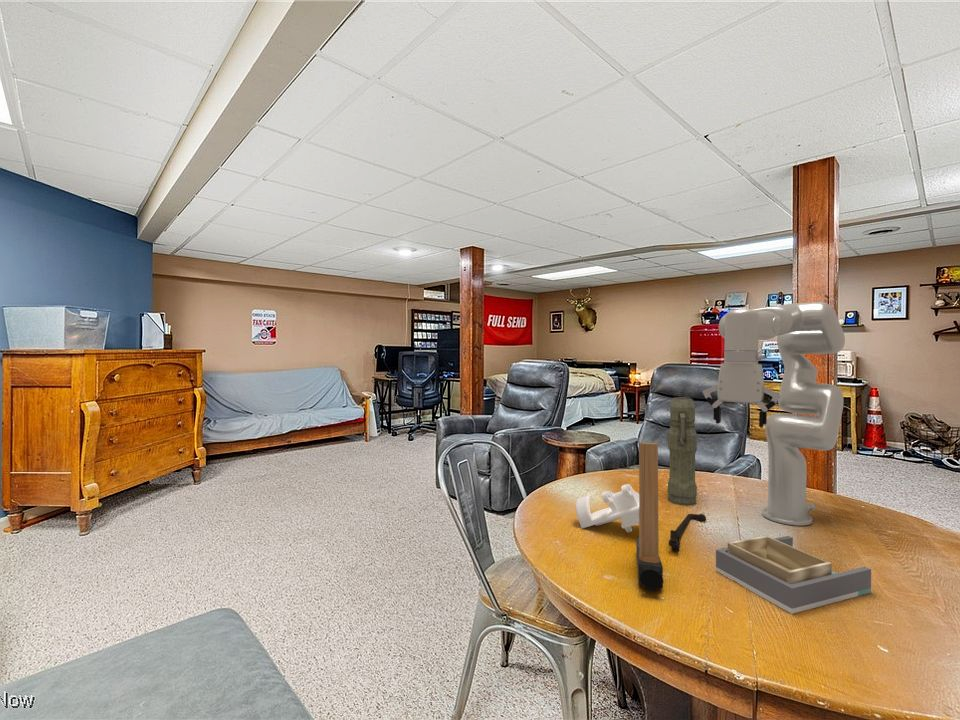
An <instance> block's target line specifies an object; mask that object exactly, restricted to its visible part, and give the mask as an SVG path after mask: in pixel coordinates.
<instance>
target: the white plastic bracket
mask: <svg viewBox="0 0 960 720" xmlns="http://www.w3.org/2000/svg"><path fill="white" fill-rule="evenodd" d="M620 489H621V490H620V491H618V492H615V493H614V492H612V490H606V491H603V492H602V493H601V497H602V500H603V502H604V503H605V504H608V505H609V507H606V508H603V509H600V510H597V511H594V512H592V510H591V507H590V503H591V502H590V500H591V498H592V496H591V494H589V493H588V494H585V495H582V496H579V497H577V499H576V502H575V513H576V517H577V520H578V522H579V525H580V527H581V529H585V528H588V527H591V526H594V525H595V527H598V526H600V525H604V524H608V523H612V522H615V521H619V520H620V522H621V524H620V526H621V528H622V529H625V532H627V533H628V532H629V533H631V532H632V531H633V528H632V526H636V525H639V492H637V491H636V490H634V488H633V487H632V485H631V484H630V483H625V484H623V485H621V488H620ZM591 512H592V513H591Z"/></svg>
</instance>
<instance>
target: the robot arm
mask: <svg viewBox="0 0 960 720" xmlns="http://www.w3.org/2000/svg"><path fill="white" fill-rule="evenodd" d="M718 332H719V334H720V336H721V337H722V338H723V339H724V349H723V350H724V353H723V354H724V356H723V360H724V361H723V363H722V362H721V363H720V368H719V371H718V373H719V374H718V382H717V384H715V385H713V386H711V387H708V388H706V389H704V390H702V395H703V396H704V398H705V399H706V402H708V404H709V405H710V406H712V408H713V420H714V421H715V424H716V425H717V424H721V422H722V408H721V404H723V403H724V402H727V403H728V402H730V403H740V404H741V403H742V404H756V405H757V406H758V408H759V409H760V411H759V414H758V421H759V422H758V424H759V425H758V428H761V429H762V428H764V430H765V437H766V441H767V442H766V443H767V448H768V449H767V451H768V463H767V464H768V465H767V466H768V467H767V470H768V471H767V472H768V473H767V474H768V476H767V478H768V479H767V484H768V485H767V488H768V489H767V507H765V508H763V509H761V515H762V516H763V517H764V518H766V519H767V520H769V521H772V522H775V523H779V524H783V525H790V526H798V527H799V526H809V525H811V524H813V517H812V516H810V515H809V514H808V512H809V511H814V510H816V507H817V506H816V505H815V504H814V503H807V474H808V473H807V472H808V471H807V470H808V469H807V467H808V466H807V460H806V458H805V456H804V454H803V453H802V452H801V450H800V449H801V448H802V449H809V450H816V451H824V452H825V451H831V450H833V448H835V446H836V444H837V442H838V437H839V431H840V425H841V420H842V415H843V409H844V395H843V392H842V390H841V388H840V387H838V385H834V384H830V383H818V382H817V378H818V375H819V374H818V369H817V368H816V366H815V365H814V364H813V363H812V361H810V360H809V359H808V358H807V357H806V356H805V355H832V354H837V353H840V352H841V351H842V350H843V348H844V347H845V344H846V337H845V333H844V330H843V327H842V325H841V323H840V321H839V318H838V316H837V313H836V312H835V311H834V308H833V307H831V305H829V304H828V302H824V301H812V302H811V301H810V302H799V303H798V302H796V303H787V304H786V303H785V304H782V305H781V304H779V305H773V306H767V307H760V308H755V309H734V310H729V311H728V312H727V313H725V314H724V315H723V316H722V317H721V318H720V320H719V323H718ZM775 337H776V343H777V348H778V352H779V354H780V358H781V360H782V364H783V368H784V369H783V370H784V371H783V376H782V380H781V381H782V382H781V386H780V388H779V392H778V393H777V392H776V391H774V390H772V389H770V388H768V387H766V386H765V385H764V384H765V381H764V371H763V369H764V368H763V365H762V364H761V363H759V361H761V360H765V359H766V354H764V353H760V352H759V341H765V340H767V341H768V340H771V339H774V338H775ZM804 354H805V355H804ZM715 391H717V392H716V396H717V400H715V399H714V398H713V397H712V395H711V393H713V392H715ZM765 394H766V395H769V396H771V397H772V398H771V400H770V401H769V402H768V403H767V404H766V403H765V402H764V401H763V400H764V398H765ZM777 403H778V407H779V408H780V409H781V410H782V411H784V412H787V413H784V412H783V413H781V412H780V413H773V414H772V415H769V416H768V417H767V415H768V411H769V410H770V409H772V408H773V407H774V406H775V405H776V404H777ZM799 448H800V449H799Z"/></svg>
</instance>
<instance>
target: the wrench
mask: <svg viewBox="0 0 960 720" xmlns="http://www.w3.org/2000/svg"><path fill="white" fill-rule="evenodd" d="M691 520H693V521H698V522H701V523H705V522H706V521H707V517H706V515H705V514H703V513H699V514H697V513H687V515H686V516H685V518H684V519H683V520H682V521H681V522H680V524H679V525H678V527H676V528H675V530H673V529H672V530H670V535H669V536H670V537H669V538H670V539H669V540H668V544H667V545H668V546H670V547H671V548H670V549H671V551H673V550H676V551H675V552H680V548H681V537H682V534H683V533H684V531H685V530H686V527H687V526H688V524H689V522H690V521H691Z"/></svg>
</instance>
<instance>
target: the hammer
mask: <svg viewBox="0 0 960 720" xmlns="http://www.w3.org/2000/svg"><path fill="white" fill-rule="evenodd" d="M638 464H639V465H638V475H639V476H638V484H639V485H638V488H639V490H638V493H639V524H638V525H639V527H638V528H639V529H638V534H639V535H638V538H635V545H636V565H637V577H638V579H637V580H638V585H640V586H643V588H645V589H647V590H648V591H654V592H655V591H658V590H660V589H661V588H662V589H663V588H664V570H663V568H664V566H663V564H662V562H661V557H660V549H659V548H660V547H659V545H660V544H659V543H660V541H659V534H660V532H659V530H660V529H659V444H658V443H655V442H643V441H642V442H640V441H639V442H638Z"/></svg>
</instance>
